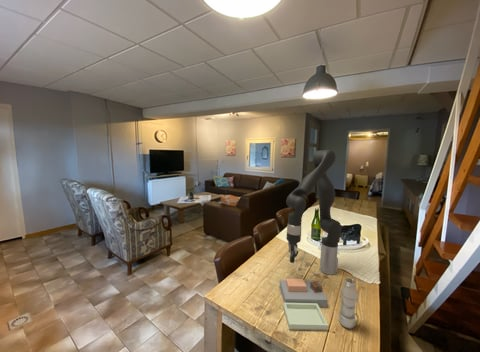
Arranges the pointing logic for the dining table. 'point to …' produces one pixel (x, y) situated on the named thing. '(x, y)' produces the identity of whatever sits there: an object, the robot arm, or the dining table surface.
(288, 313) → the tray
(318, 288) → the walnut block
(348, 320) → the plastic bottle
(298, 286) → the terracotta tile
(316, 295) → the grey slab
